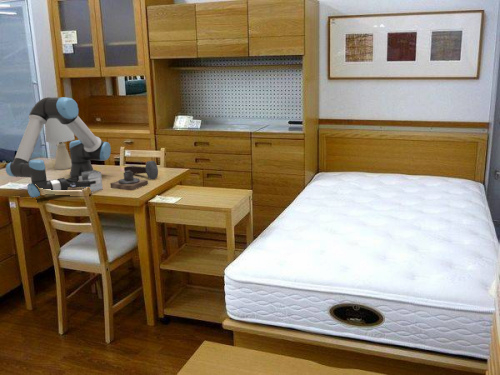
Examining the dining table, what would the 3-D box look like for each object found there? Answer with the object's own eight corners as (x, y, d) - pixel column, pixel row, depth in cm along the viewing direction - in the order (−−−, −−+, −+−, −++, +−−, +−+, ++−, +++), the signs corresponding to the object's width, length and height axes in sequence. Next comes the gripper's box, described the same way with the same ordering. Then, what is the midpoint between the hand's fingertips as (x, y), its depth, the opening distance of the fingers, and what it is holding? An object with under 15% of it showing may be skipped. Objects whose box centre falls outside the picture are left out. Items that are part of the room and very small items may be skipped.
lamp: (74, 170, 336) (67, 115, 326) (45, 171, 334) (38, 116, 325) (80, 164, 354) (75, 112, 344) (54, 165, 352) (47, 113, 343)
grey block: (89, 191, 279) (87, 174, 276) (83, 189, 285) (81, 172, 282) (102, 189, 284) (100, 172, 282) (96, 186, 290) (94, 170, 287)
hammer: (124, 179, 322) (153, 179, 302) (121, 162, 320) (150, 161, 300) (130, 178, 326) (159, 178, 306) (127, 161, 324) (156, 160, 304)
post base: (132, 190, 280) (130, 174, 278) (110, 187, 287) (109, 172, 285) (148, 184, 292) (146, 169, 290) (127, 182, 299) (125, 167, 297)
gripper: (50, 188, 280) (86, 181, 294) (68, 196, 262) (105, 188, 276) (48, 175, 278) (84, 169, 292) (66, 182, 260) (104, 175, 274)
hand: (95, 178), depth 284 cm, fingers open, 13 cm apart
